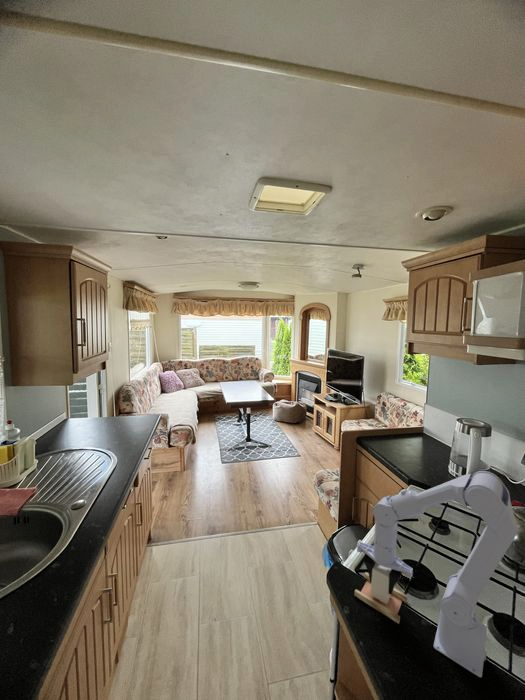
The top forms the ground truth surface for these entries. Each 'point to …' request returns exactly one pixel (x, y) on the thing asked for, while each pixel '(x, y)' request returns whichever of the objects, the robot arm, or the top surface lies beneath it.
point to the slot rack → (386, 609)
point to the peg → (380, 583)
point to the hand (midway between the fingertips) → (381, 586)
